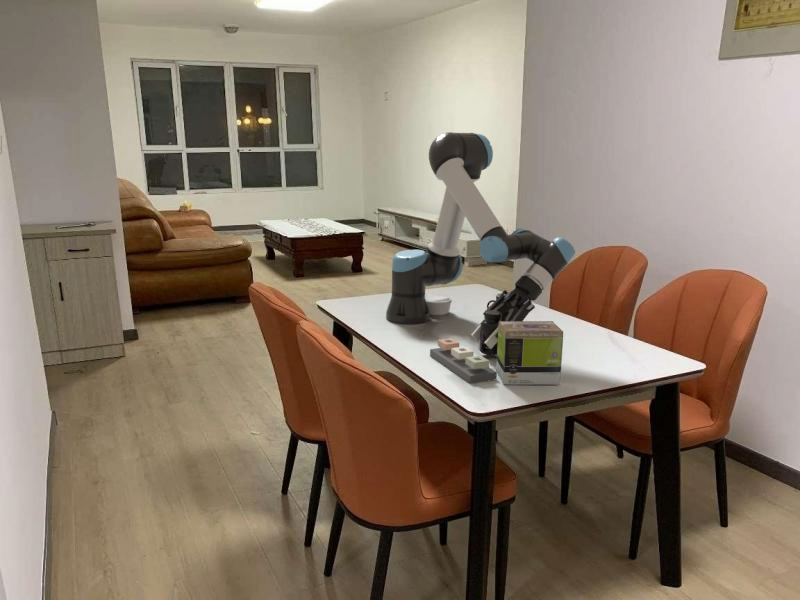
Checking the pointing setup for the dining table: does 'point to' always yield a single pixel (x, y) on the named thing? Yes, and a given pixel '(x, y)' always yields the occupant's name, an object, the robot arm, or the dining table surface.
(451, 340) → the key
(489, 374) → the board
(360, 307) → the dining table surface
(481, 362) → the key
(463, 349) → the key mid
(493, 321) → the supplement bottle
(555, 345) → the tea box
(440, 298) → the ramekin
